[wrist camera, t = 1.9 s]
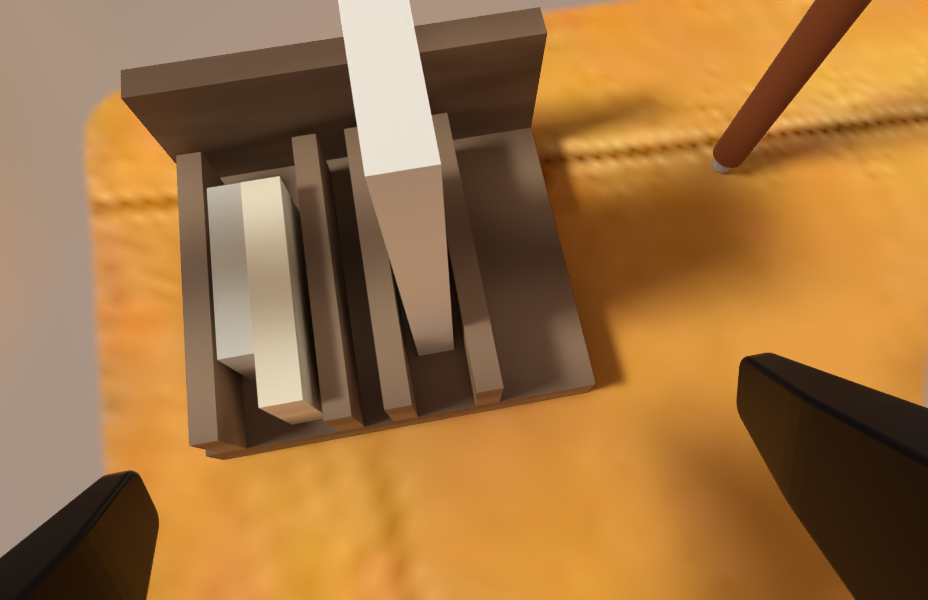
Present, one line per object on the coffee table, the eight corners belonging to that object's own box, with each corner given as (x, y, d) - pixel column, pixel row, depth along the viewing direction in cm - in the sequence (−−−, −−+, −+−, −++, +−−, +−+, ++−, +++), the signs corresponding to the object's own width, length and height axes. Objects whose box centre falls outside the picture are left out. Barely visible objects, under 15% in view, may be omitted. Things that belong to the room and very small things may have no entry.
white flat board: (454, 349, 21) (440, 164, 10) (418, 356, 21) (364, 176, 10) (429, 217, 23) (394, -76, 11) (396, 222, 23) (327, -66, 11)
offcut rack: (587, 392, 22) (634, 347, 16) (223, 459, 22) (126, 439, 15) (521, 128, 26) (539, 7, 20) (205, 179, 25) (120, 70, 19)
